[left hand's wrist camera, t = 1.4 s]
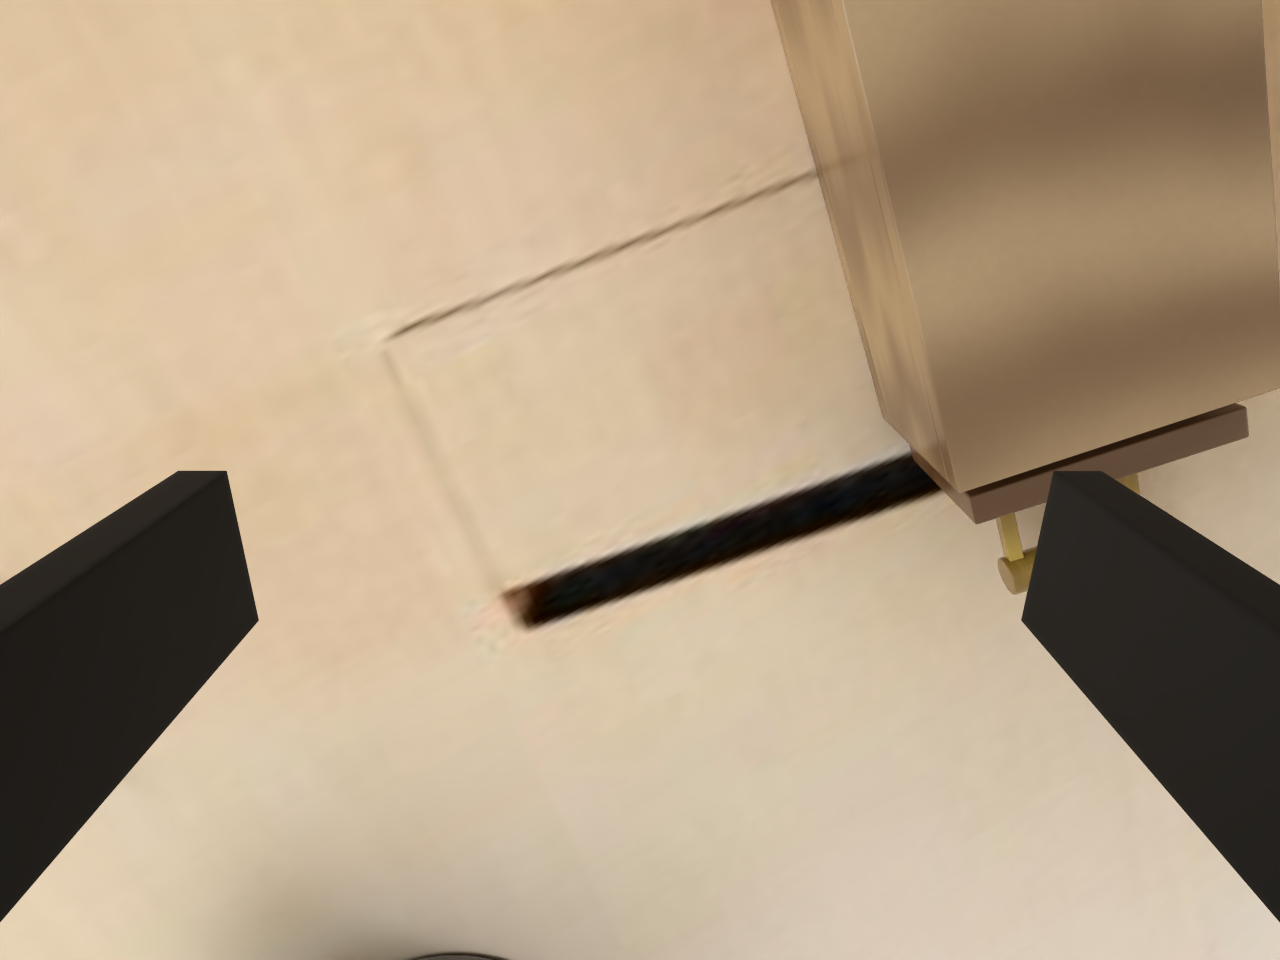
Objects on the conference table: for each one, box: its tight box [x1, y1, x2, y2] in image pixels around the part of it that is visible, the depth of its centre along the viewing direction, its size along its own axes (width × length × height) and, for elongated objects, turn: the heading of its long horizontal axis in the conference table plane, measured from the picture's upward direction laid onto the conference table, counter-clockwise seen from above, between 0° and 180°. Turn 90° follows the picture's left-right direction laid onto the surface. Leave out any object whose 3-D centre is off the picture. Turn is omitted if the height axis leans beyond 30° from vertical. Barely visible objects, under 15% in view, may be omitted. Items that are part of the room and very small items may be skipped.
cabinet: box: [771, 0, 1280, 493], centre depth 26 cm, size 21×11×9 cm, turn 21°
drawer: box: [910, 403, 1249, 595], centre depth 28 cm, size 25×10×7 cm, turn 21°
